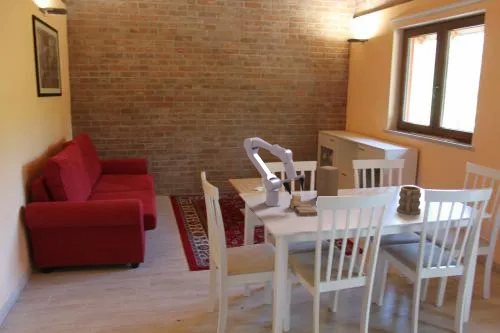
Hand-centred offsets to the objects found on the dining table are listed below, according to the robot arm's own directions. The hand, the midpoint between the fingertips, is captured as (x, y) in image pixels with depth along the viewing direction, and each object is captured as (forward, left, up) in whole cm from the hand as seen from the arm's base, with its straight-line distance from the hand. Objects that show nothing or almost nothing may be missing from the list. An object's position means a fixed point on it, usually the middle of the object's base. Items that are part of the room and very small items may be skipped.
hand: (296, 192), depth 257 cm
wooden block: (-24, +26, -11) cm, 38 cm away
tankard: (+11, +63, -11) cm, 65 cm away
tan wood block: (-4, 0, -10) cm, 11 cm away
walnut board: (0, +4, -10) cm, 11 cm away
